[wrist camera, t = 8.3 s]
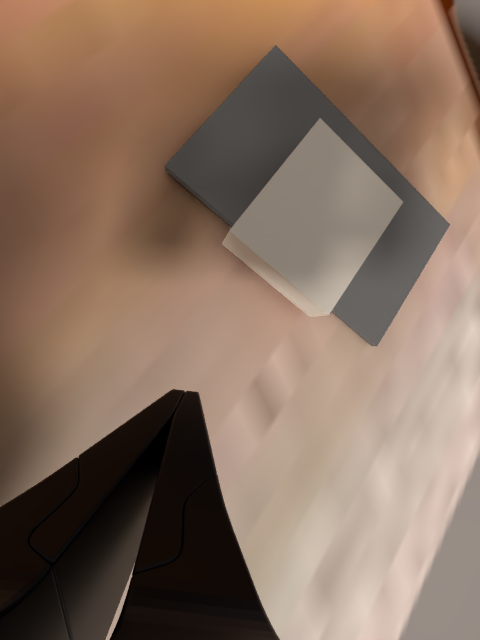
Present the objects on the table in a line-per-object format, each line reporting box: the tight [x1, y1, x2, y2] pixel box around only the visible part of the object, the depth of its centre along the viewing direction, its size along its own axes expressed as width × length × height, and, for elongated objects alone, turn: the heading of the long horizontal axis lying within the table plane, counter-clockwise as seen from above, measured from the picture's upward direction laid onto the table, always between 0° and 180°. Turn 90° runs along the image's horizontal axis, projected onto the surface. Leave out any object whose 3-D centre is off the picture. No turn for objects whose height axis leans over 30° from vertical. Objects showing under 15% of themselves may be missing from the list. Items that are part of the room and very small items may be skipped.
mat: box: [165, 45, 450, 346], centre depth 20 cm, size 13×20×1 cm, turn 53°
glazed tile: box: [222, 118, 403, 317], centre depth 18 cm, size 3×8×10 cm
